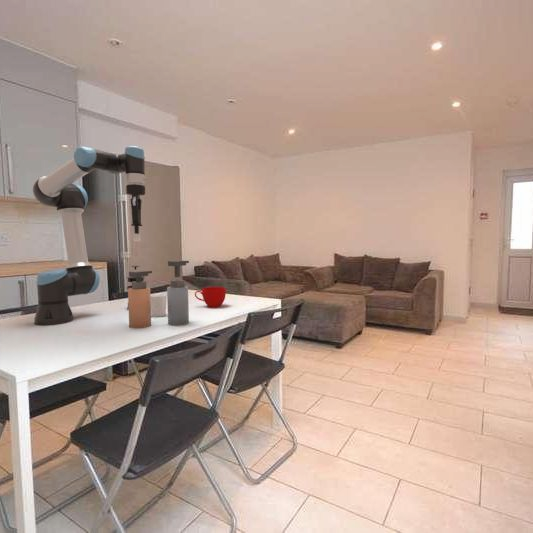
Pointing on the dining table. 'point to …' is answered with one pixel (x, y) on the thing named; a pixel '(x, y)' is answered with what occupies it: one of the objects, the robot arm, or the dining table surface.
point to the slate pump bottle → (178, 303)
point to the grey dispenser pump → (139, 275)
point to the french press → (133, 280)
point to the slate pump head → (177, 266)
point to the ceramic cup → (213, 296)
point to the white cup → (158, 305)
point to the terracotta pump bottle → (139, 305)
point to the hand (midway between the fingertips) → (137, 241)
